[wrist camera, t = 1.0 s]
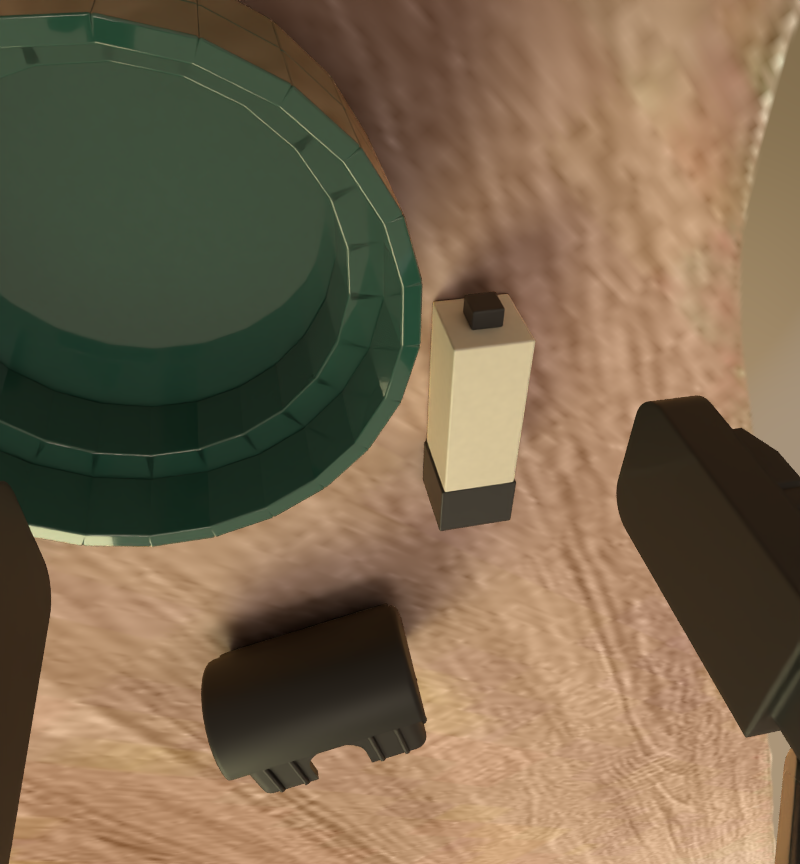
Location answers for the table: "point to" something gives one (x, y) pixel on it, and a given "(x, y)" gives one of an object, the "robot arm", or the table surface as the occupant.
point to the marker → (475, 408)
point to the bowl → (187, 272)
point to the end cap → (313, 699)
